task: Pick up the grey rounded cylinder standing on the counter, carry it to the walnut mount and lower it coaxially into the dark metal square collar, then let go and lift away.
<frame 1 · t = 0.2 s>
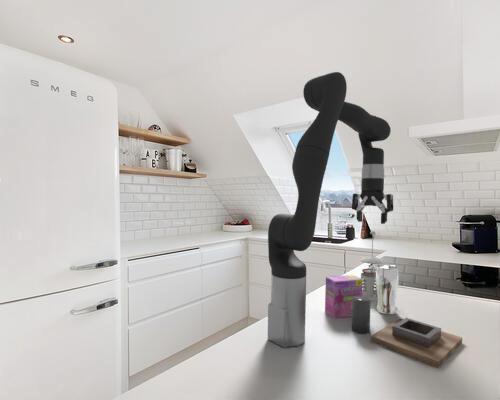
hand: (371, 222, 109), 29 cm above the countertop, fingers open, 8 cm apart
box: (343, 314, 99), on the countertop
french press: (371, 297, 116), on the countertop
beer glass: (385, 311, 101), on the countertop
grey rounded cylinder: (360, 330, 87), on the countertop
mount: (416, 342, 80), on the countertop
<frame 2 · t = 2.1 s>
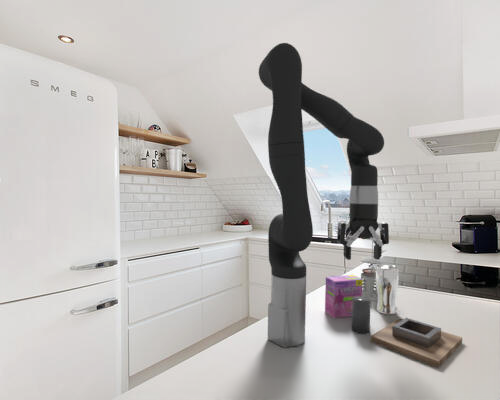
hand: (362, 259, 86), 20 cm above the countertop, fingers open, 8 cm apart
nothing on the countertop moved.
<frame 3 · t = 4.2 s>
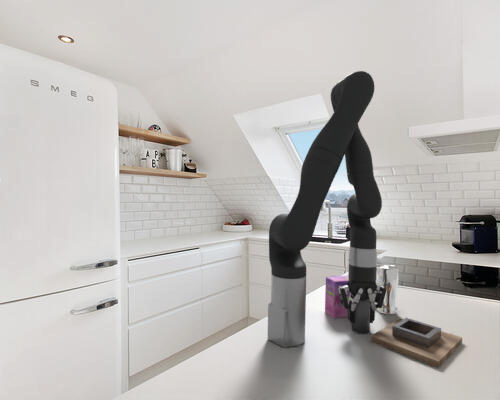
hand: (361, 322, 87), 2 cm above the countertop, fingers closed on grey rounded cylinder, 4 cm apart
grey rounded cylinder: (360, 330, 87), on the countertop, touching gripper
everything else where it was.
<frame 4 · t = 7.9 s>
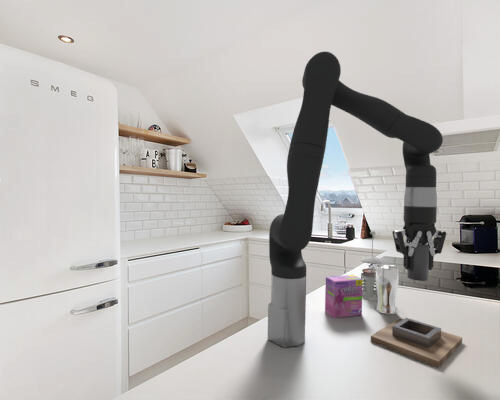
hand: (418, 269, 80), 19 cm above the countertop, fingers closed on grey rounded cylinder, 4 cm apart
grey rounded cylinder: (417, 278, 80), point 17 cm above the countertop, touching gripper
everything else where it was.
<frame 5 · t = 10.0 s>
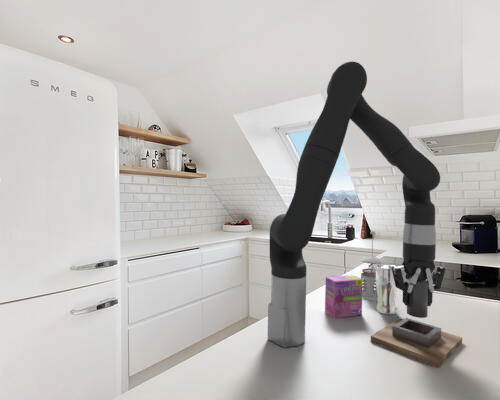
hand: (417, 305, 80), 10 cm above the countertop, fingers closed on grey rounded cylinder, 4 cm apart
grey rounded cylinder: (416, 314, 80), point 7 cm above the countertop, touching gripper
everything else where it was.
when the fingers open (5 cm above the countertop, at t = 11.7 s): grey rounded cylinder drops 1 cm, resting on mount.
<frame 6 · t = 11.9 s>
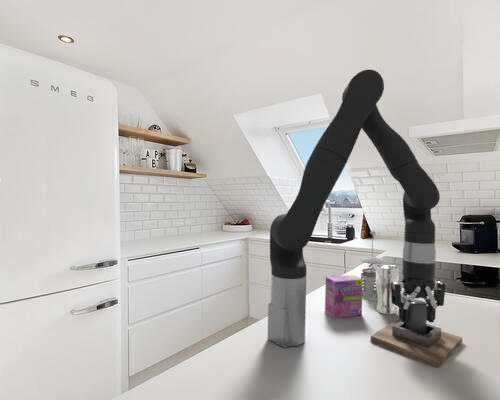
hand: (416, 321, 80), 6 cm above the countertop, fingers open, 6 cm apart
grey rounded cylinder: (415, 336, 80), point 2 cm above the countertop, touching mount
everything else where it was.
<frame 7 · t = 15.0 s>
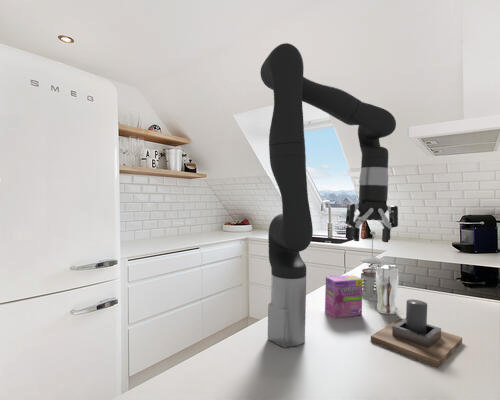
hand: (370, 241, 86), 26 cm above the countertop, fingers open, 8 cm apart
nothing on the countertop moved.
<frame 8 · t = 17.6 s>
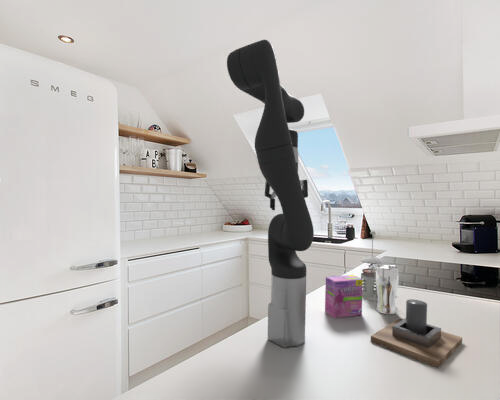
hand: (285, 210, 102), 33 cm above the countertop, fingers open, 8 cm apart
nothing on the countertop moved.
at the end: grey rounded cylinder 0.2 cm off-centre on the mount, point 1.5 cm above the mount's base; grey rounded cylinder tilted 1°; the gripper is holding nothing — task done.
